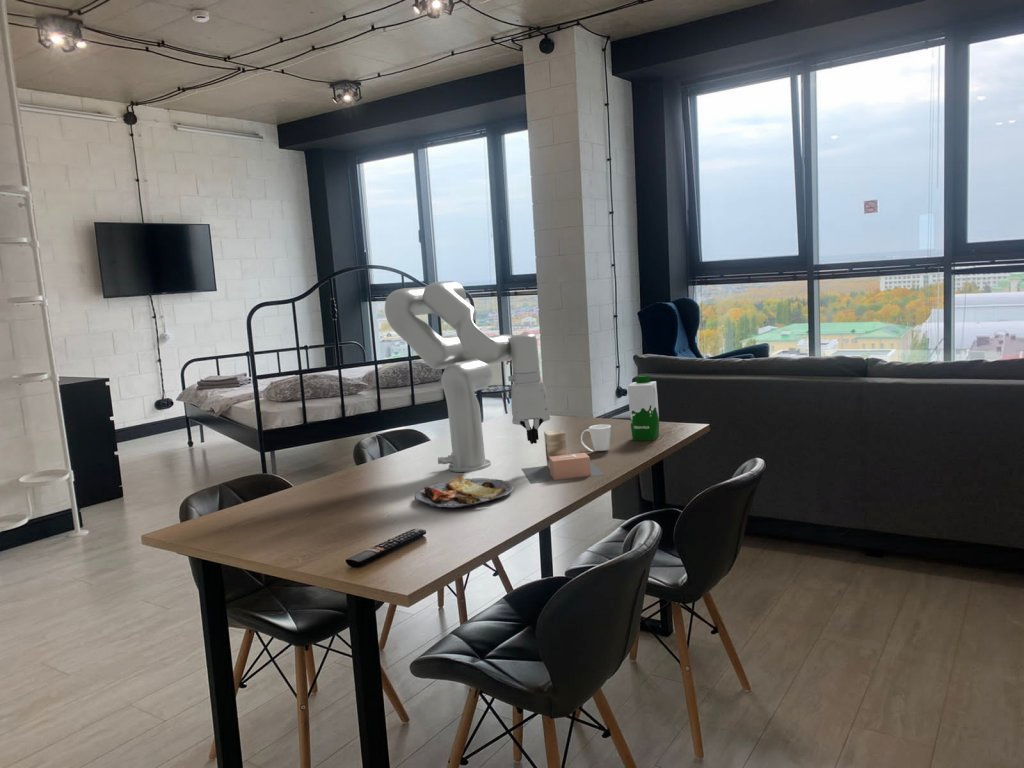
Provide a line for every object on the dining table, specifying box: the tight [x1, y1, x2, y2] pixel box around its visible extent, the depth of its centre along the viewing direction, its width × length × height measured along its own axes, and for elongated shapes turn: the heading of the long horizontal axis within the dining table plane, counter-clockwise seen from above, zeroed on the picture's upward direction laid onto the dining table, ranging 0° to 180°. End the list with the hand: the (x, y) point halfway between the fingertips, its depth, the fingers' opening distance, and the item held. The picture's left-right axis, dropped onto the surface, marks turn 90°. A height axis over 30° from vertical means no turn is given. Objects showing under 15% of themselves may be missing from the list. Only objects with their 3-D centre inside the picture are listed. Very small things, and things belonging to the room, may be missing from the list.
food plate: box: [414, 475, 514, 509], centre depth 196 cm, size 25×23×4 cm
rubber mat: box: [521, 461, 606, 485], centre depth 212 cm, size 20×18×1 cm
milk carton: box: [627, 374, 660, 441], centre depth 247 cm, size 9×9×20 cm
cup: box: [580, 424, 612, 452], centre depth 233 cm, size 7×10×8 cm
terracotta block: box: [549, 452, 591, 480], centre depth 207 cm, size 5×6×10 cm
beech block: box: [543, 429, 568, 469], centre depth 218 cm, size 5×6×10 cm
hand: (533, 442), depth 216 cm, fingers closed
